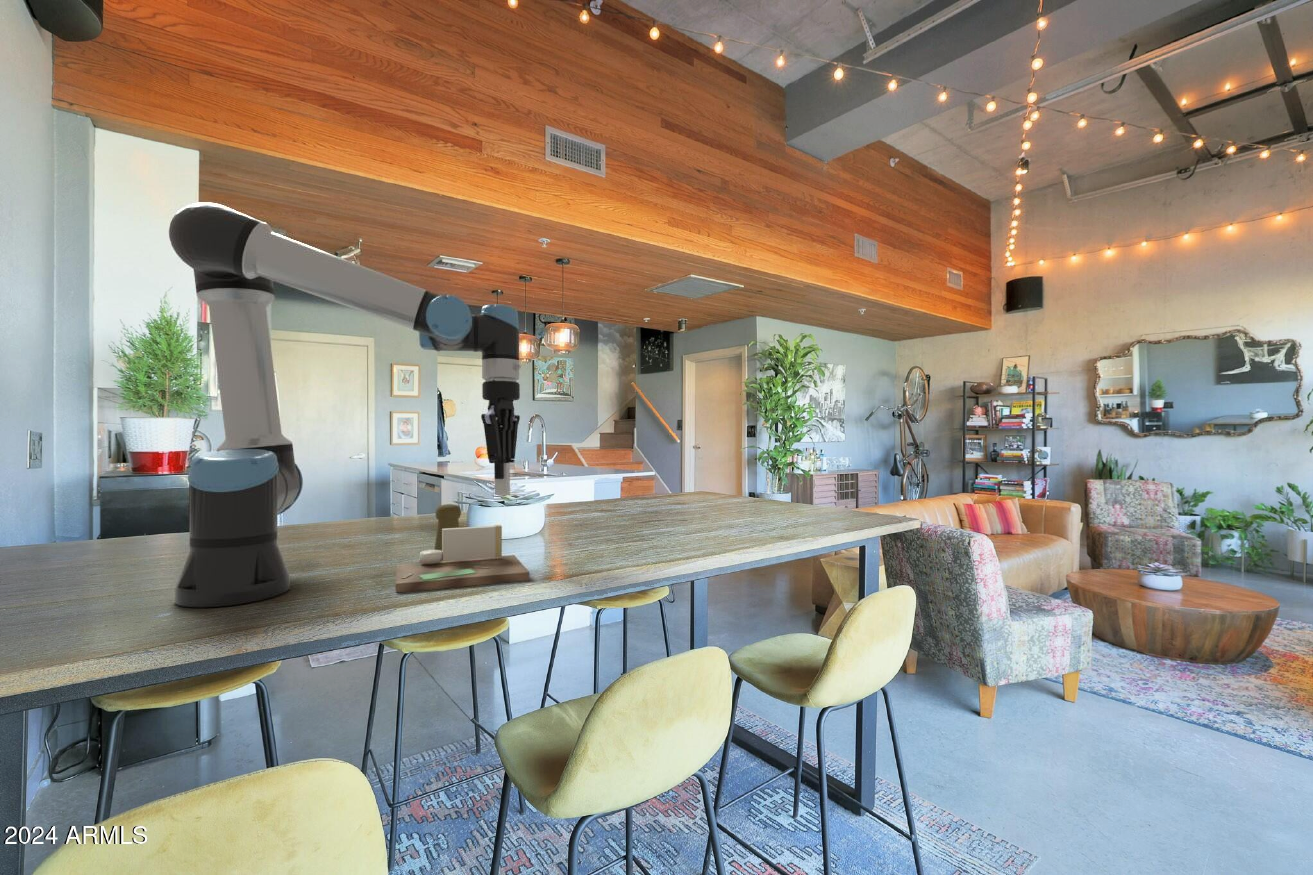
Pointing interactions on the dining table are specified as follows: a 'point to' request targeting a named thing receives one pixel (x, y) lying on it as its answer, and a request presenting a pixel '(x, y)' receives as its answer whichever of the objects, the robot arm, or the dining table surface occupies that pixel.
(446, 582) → the brown flat wooden board
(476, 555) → the cream block with knob
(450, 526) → the cork
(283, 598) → the dining table surface
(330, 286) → the robot arm
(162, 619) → the dining table surface
